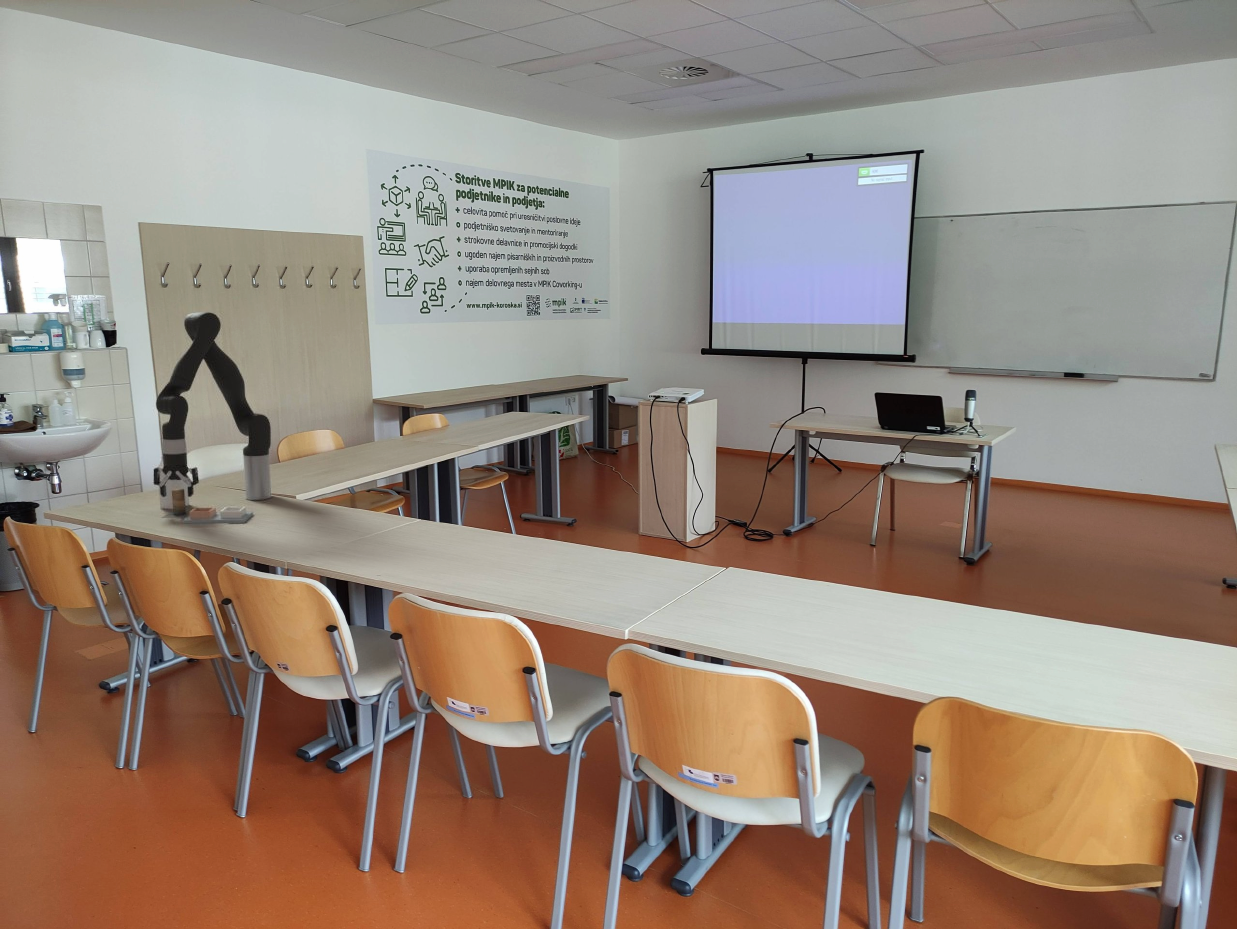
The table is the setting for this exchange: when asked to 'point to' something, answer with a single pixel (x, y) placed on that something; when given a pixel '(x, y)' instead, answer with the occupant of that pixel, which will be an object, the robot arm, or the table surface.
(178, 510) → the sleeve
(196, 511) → the double pet bowl
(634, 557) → the table surface
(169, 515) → the feeder mat
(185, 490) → the milk carton
